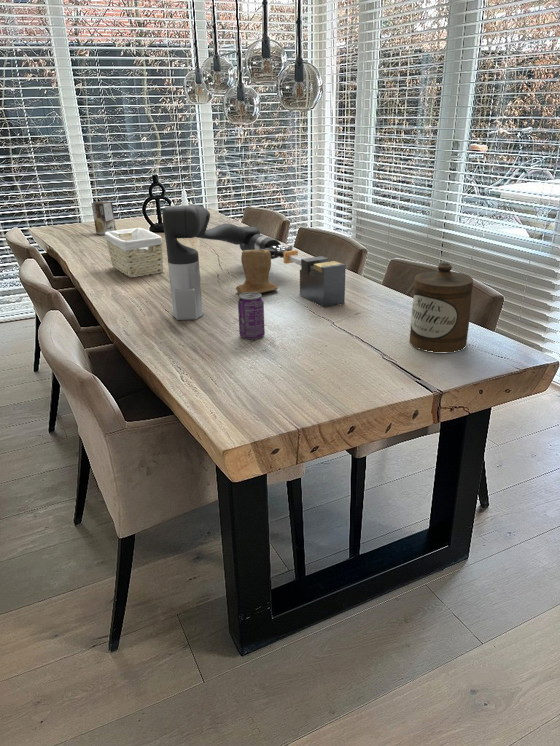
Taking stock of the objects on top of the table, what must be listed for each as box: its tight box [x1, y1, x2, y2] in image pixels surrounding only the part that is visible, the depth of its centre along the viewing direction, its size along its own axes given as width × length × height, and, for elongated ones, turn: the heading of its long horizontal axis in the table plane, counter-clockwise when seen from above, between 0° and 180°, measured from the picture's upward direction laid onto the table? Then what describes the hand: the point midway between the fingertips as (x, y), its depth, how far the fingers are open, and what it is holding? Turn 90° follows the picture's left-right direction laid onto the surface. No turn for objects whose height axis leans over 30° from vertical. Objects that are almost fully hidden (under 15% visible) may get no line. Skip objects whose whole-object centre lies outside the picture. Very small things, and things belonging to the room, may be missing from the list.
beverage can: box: [237, 292, 266, 340], centre depth 160 cm, size 7×7×12 cm
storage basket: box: [104, 227, 164, 278], centre depth 229 cm, size 24×16×15 cm
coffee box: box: [91, 200, 117, 236], centre depth 300 cm, size 9×6×16 cm
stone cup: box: [235, 249, 279, 295], centre depth 198 cm, size 15×12×15 cm
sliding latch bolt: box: [283, 249, 314, 270], centre depth 199 cm, size 18×5×4 cm, turn 28°
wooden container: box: [409, 261, 474, 353], centre depth 150 cm, size 15×15×22 cm
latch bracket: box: [299, 255, 347, 309], centre depth 189 cm, size 16×8×13 cm, turn 28°
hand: (288, 256), depth 206 cm, fingers closed
